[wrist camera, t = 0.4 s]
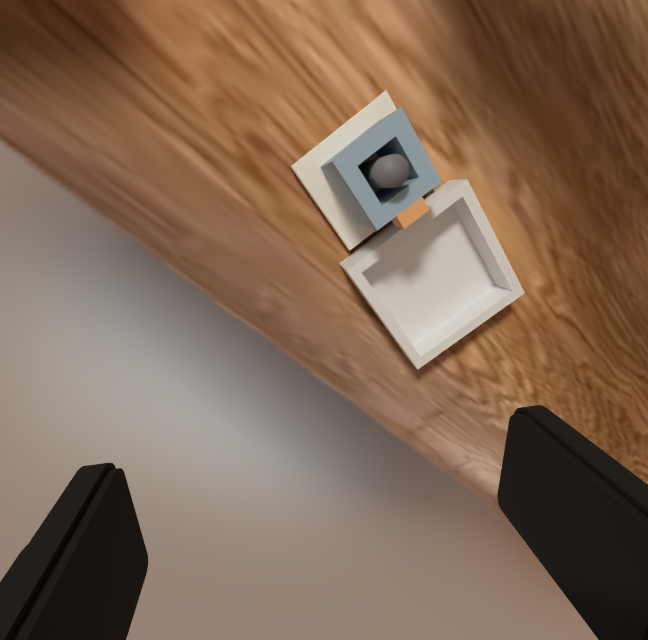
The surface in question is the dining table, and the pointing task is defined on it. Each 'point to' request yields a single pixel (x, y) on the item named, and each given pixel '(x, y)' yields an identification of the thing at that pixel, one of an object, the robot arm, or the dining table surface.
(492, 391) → the dining table surface
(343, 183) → the collar
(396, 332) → the tray
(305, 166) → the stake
